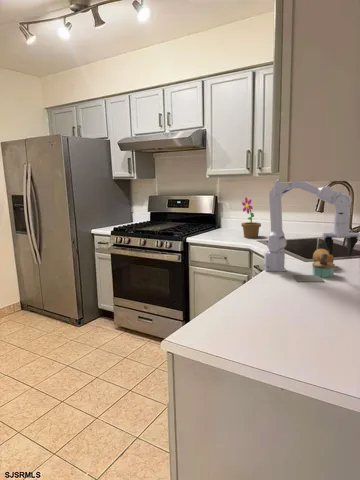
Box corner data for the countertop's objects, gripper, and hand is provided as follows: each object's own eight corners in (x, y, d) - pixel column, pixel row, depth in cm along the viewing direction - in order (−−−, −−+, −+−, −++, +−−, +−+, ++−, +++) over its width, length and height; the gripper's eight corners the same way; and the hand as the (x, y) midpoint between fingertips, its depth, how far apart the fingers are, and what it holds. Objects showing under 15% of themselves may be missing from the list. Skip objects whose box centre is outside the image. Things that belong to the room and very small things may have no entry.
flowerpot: (237, 236, 247) (237, 197, 241) (252, 234, 253) (252, 196, 248) (249, 239, 234) (249, 197, 229) (264, 237, 241) (265, 196, 235)
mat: (297, 281, 137) (297, 281, 137) (292, 275, 145) (292, 274, 145) (324, 282, 135) (324, 281, 135) (318, 275, 144) (318, 275, 144)
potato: (315, 270, 153) (316, 253, 152) (309, 262, 167) (310, 247, 165) (337, 270, 151) (338, 253, 150) (329, 262, 165) (330, 247, 163)
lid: (314, 268, 142) (315, 256, 141) (311, 263, 150) (311, 251, 149) (336, 269, 140) (337, 256, 139) (331, 263, 148) (332, 252, 147)
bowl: (315, 276, 143) (316, 268, 142) (311, 271, 150) (311, 263, 150) (335, 277, 142) (335, 268, 141) (329, 272, 149) (329, 263, 149)
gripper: (326, 224, 133) (324, 256, 136) (364, 224, 131) (361, 256, 134) (321, 222, 140) (319, 252, 142) (357, 221, 138) (354, 252, 141)
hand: (339, 254), depth 139 cm, fingers open, 7 cm apart
